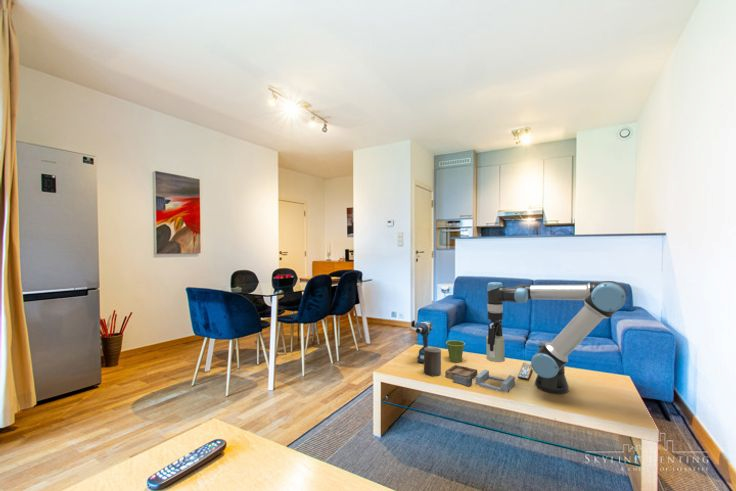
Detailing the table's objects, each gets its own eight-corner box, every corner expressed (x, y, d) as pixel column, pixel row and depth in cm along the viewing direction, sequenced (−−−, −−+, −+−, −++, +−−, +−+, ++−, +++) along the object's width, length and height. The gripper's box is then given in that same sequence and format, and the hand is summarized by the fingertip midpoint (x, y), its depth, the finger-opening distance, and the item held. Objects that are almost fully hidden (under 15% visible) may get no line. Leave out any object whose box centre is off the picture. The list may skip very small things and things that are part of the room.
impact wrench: (411, 366, 205) (411, 325, 205) (423, 355, 225) (423, 318, 225) (424, 368, 201) (424, 326, 201) (435, 357, 221) (435, 319, 221)
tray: (477, 375, 190) (477, 369, 190) (467, 383, 180) (467, 376, 180) (455, 370, 198) (455, 364, 198) (445, 377, 188) (445, 370, 188)
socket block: (515, 383, 180) (515, 376, 180) (506, 393, 168) (506, 385, 168) (485, 376, 190) (485, 369, 190) (474, 384, 178) (474, 377, 178)
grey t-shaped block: (472, 383, 179) (472, 377, 179) (469, 386, 176) (469, 379, 176) (456, 379, 184) (456, 372, 184) (452, 381, 181) (452, 375, 181)
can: (490, 355, 185) (489, 333, 185) (507, 359, 179) (507, 336, 179) (483, 359, 178) (483, 336, 178) (501, 363, 172) (500, 339, 172)
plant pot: (453, 356, 224) (453, 339, 224) (468, 361, 215) (468, 343, 215) (441, 360, 216) (441, 342, 216) (457, 365, 207) (457, 346, 207)
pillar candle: (425, 376, 190) (426, 349, 189) (422, 370, 199) (422, 344, 199) (442, 376, 190) (443, 349, 190) (438, 370, 200) (439, 344, 200)
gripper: (494, 308, 190) (495, 348, 190) (480, 314, 173) (480, 358, 173) (508, 309, 185) (509, 351, 185) (495, 315, 168) (495, 361, 168)
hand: (495, 354), depth 179 cm, fingers closed on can, 9 cm apart
